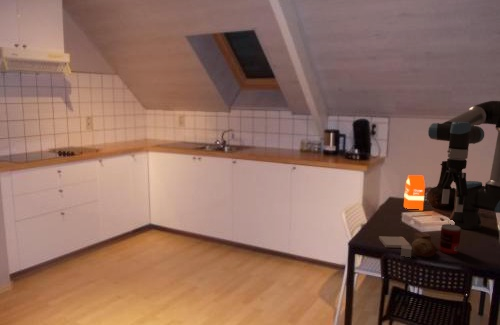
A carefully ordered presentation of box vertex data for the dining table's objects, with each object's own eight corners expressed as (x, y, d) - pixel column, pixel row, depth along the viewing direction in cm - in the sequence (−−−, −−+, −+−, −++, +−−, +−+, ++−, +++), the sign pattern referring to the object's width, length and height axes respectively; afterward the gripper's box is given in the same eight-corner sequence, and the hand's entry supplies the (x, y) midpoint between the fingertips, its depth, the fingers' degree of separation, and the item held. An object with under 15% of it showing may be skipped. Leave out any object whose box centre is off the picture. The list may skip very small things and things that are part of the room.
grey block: (410, 255, 181) (411, 246, 181) (410, 258, 178) (411, 249, 177) (400, 253, 183) (401, 244, 182) (400, 257, 179) (401, 248, 178)
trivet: (402, 239, 200) (402, 236, 200) (410, 248, 189) (411, 245, 189) (378, 238, 200) (379, 236, 200) (385, 247, 190) (386, 244, 189)
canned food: (457, 249, 189) (459, 225, 187) (459, 255, 182) (462, 230, 180) (438, 246, 192) (440, 223, 190) (439, 253, 184) (442, 228, 182)
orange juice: (423, 210, 250) (426, 176, 246) (407, 210, 250) (410, 176, 246) (418, 206, 258) (421, 174, 254) (403, 206, 258) (406, 173, 254)
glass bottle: (464, 212, 249) (469, 164, 244) (433, 211, 249) (438, 163, 244) (450, 203, 266) (455, 159, 261) (421, 203, 266) (425, 158, 261)
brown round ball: (423, 242, 197) (424, 232, 196) (430, 246, 192) (431, 235, 191) (413, 243, 196) (414, 232, 195) (420, 247, 191) (421, 236, 190)
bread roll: (409, 256, 190) (403, 240, 188) (430, 246, 190) (424, 231, 188) (420, 265, 180) (413, 249, 178) (442, 255, 180) (436, 238, 179)
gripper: (436, 154, 193) (431, 200, 196) (461, 163, 168) (455, 215, 172) (453, 154, 193) (448, 200, 196) (481, 163, 168) (474, 216, 172)
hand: (451, 207), depth 184 cm, fingers open, 13 cm apart
